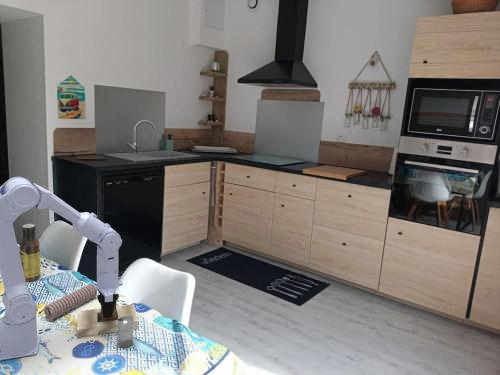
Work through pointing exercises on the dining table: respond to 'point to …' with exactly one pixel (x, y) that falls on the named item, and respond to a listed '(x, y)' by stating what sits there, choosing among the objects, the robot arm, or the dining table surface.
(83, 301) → the coil
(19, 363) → the dining table surface
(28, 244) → the sauce bottle
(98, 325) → the socket board
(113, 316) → the square peg
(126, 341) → the clear glass
